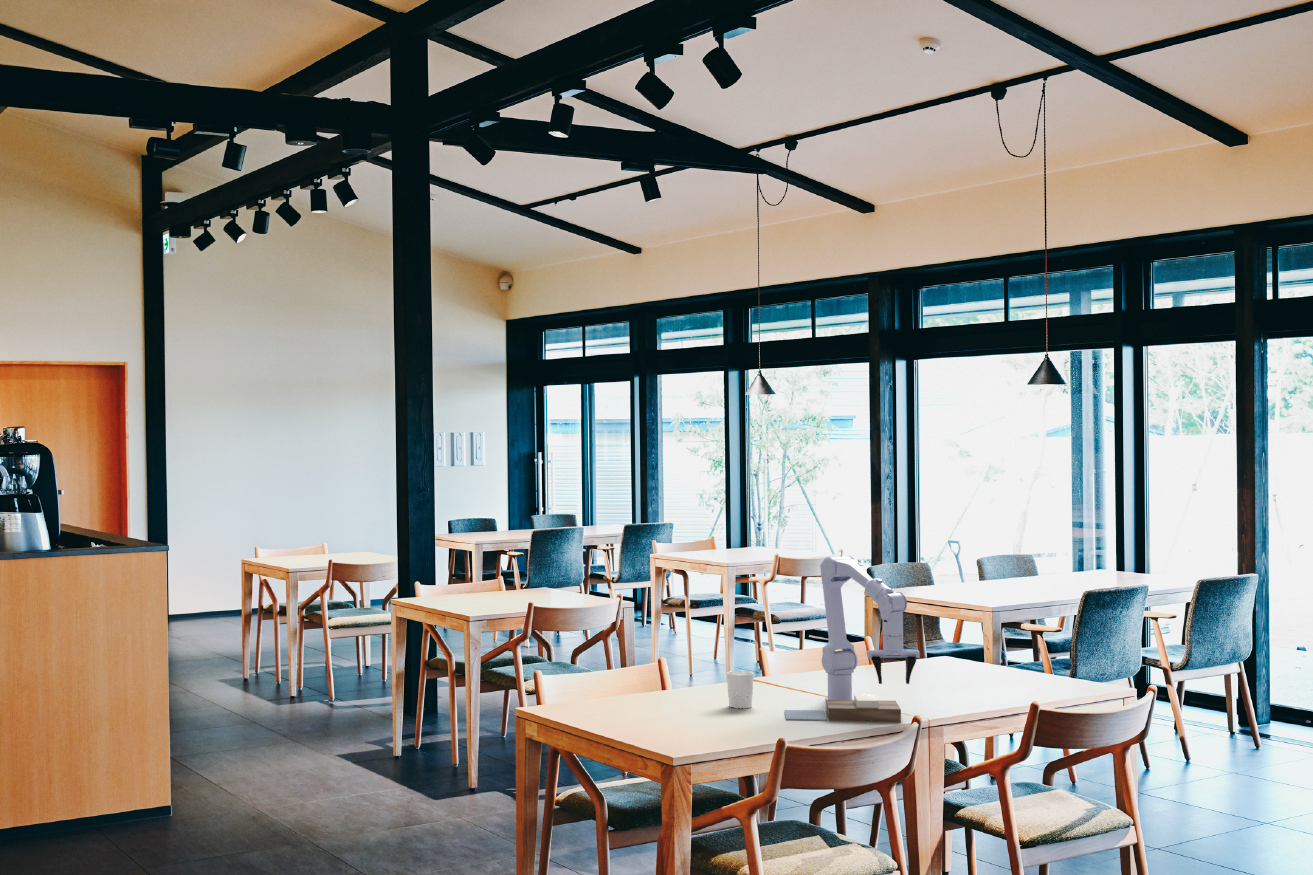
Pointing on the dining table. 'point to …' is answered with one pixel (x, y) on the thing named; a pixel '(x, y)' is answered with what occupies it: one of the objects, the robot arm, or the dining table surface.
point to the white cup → (740, 688)
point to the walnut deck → (862, 711)
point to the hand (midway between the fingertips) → (893, 683)
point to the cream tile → (866, 701)
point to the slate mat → (806, 715)
